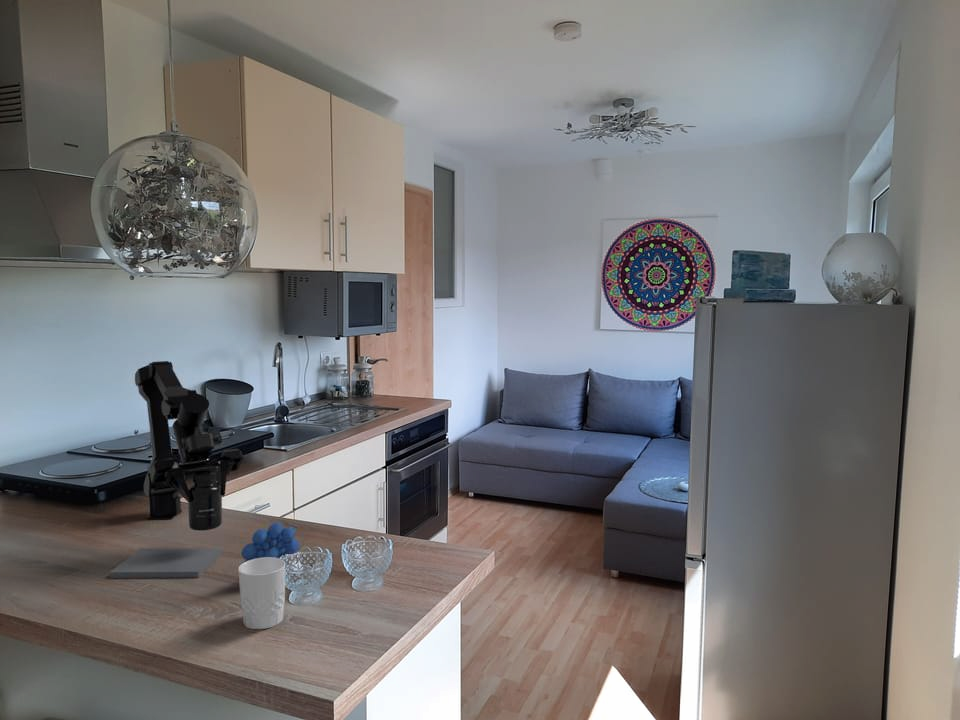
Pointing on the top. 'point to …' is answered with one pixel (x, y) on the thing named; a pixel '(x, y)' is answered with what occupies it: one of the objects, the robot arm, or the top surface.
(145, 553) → the board
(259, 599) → the white cup
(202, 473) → the supplement bottle
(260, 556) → the grapes
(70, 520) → the top surface
